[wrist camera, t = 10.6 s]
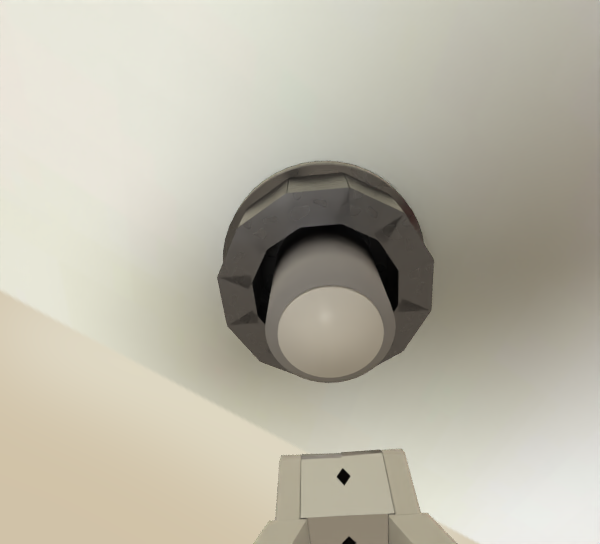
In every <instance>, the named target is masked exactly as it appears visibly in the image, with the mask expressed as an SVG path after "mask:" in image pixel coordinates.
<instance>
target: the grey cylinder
mask: <svg viewBox="0 0 600 544" xmlns="http://www.w3.org/2000/svg"><path fill="white" fill-rule="evenodd" d="M395 329H396V324H395V317H394V312H393V310H392V307H391V304H390V302H389V299H388V297H387V294H386V291H385V289H384V286H383V283H382V281H381V278H380V276H379V273H378V270H377V268H376V265H375V263H374V260H373V257H372V255H371V252H370V250H369V247H368V245H367V243H366V242H365V240H364V239H363V238H362V236H361V235H360V234H359V233H358V232H357V231H355V230H354V229H352V228H350V227H347V226H345V225H343V224H334V225H323V226H311V227H300V228H298V229H297V230H295V231H294V232H292V233H291V234H290V235H288V236H287V237H286V239H285V240H284V241H283V243H282V244H281V246H280V248H279V250H278V253H277V257H276V263H275V269H274V275H273V281H272V287H271V293H270V299H269V305H268V311H267V317H266V324H265V334H266V340H267V344H268V346H269V348H270V351H271V352H272V354H273V356H274V357H275V358H276V360H277V361H278V362H279V363H280V364H281V365H282V366H283V367H284V368H286V369H287V370H288V371H290V372H292V373H293V374H295V375H297V376H299V377H302V378H304V379H308V380H311V381H316V382H325V383H329V382H342V381H346V380H350V379H353V378H356V377H359V376H361V375H363V374H365V373H367V372H368V371H370V370H371V369H373V368H374V367H375V366H377V365H378V364H379V363H380V362H381V361H382V360H383V358H384V357H385V356H386V354H387V353H388V351H389V350H390V348H391V345H392V343H393V340H394V336H395Z"/></svg>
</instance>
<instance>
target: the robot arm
mask: <svg viewBox="0 0 600 544" xmlns="http://www.w3.org/2000/svg"><path fill="white" fill-rule="evenodd" d="M253 544H457V543H456V542H455V541H454V540H453V539H452V538H451V536H450V535H449V534H448V533H447V532H446V531H444V529H443V528H442V527H441V526H440V525H439V524H438V523H437V522H436V521H435V520H434V519H433V518H432V517H431V516H430V515H429V514H428V513H421V511H420V507H419V504H418V500H417V496H416V493H415V489H414V485H413V482H412V478H411V474H410V471H409V467H408V463H407V460H406V456H405V452H404V451H403V450H402V449H390V450H382V451H381V450H369V451H355V452H341V453H334V454H302V455H283V456H281V458H280V461H279V474H278V488H277V503H276V517H275V520H274V521H269V522H268V523H267V525H266V526H265V528H264V529H263V530H262V532H261V533H260V535H259V536H258V538H257V539H256V541H255V542H254V543H253Z"/></svg>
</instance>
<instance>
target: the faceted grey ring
mask: <svg viewBox="0 0 600 544" xmlns="http://www.w3.org/2000/svg"><path fill="white" fill-rule="evenodd" d="M334 224H343V225H345V226H347V227H350V228H352V229H354V230H355V231H357V232H358V233H359V234H360V235H361V236H362V238H363V239H364V240H365V242H366V243H367V245H368V247H369V250H370V252H371V255H372V257H373V260H374V263H375V265H376V268H377V270H378V273H379V276H380V278H381V281H382V283H383V286H384V289H385V291H386V294H387V297H388V299H389V302H390V304H391V307H392V310H393V312H394V317H395V324H396V329H395V336H394V340H393V343H392V345H391V348H390V350H389V351H388V353H387V354H386V356H385V357H384V358H383V360H382V361H381V362H380V363H382V362H384V361H386V360H388V359H390V358H392V357H394V356H395V355H397V354H399V353H401V352H402V351H403V350H404V349H405V348H406V346H407V345H408V343H409V342H410V340H411V339H412V337H413V336H414V335H415V333H416V332H417V330H418V329H419V327H420V326H421V324H422V323H423V322H424V320H425V319H426V317H427V316H428V314H429V313H430V311H431V306H432V285H433V264H434V260H433V258H432V256H431V254H430V253H429V251H428V250H427V248H426V246H425V245H424V242H423V236H422V232H421V229H420V226H419V224H418V221H417V219H416V217H415V215H414V213H413V211H412V210H411V208H410V207H409V206H408V204H407V203H406V201H405V200H404V199H403V198H402V196H401V195H400V194H399V193H398V192H397V191H396V190H395V189H394V188H393V187H392V186H391V185H390V184H389V183H387V182H386V181H385V180H383V179H382V178H381V177H379V176H377V175H376V174H374V173H372V172H370V171H368V170H366V169H363V168H361V167H358V166H356V165H352V164H347V163H343V162H335V161H314V162H308V163H301V164H298V165H295V166H291V167H288V168H286V169H284V170H281V171H279V172H277V173H275V174H273V175H272V176H270V177H269V178H267V179H266V180H264V181H263V182H262V183H260V184H259V185H258V186H257V187H256V188H254V189H253V191H252V192H251V193H250V194H249V195H248V196H247V197H246V198H245V200H244V201H243V203H242V204H241V206H240V207H239V209H238V210H237V212H236V214H235V216H234V218H233V220H232V222H231V224H230V226H229V229H228V232H227V235H226V238H225V244H224V250H223V265H222V267H221V269H220V272H219V274H218V277H217V278H218V283H219V288H220V293H221V298H222V303H223V308H224V313H225V318H226V323H227V325H228V327H229V328H230V329H231V330H232V331H233V333H234V334H235V335H236V336H237V337H238V338H239V339H240V340H241V341H242V342H243V343H244V344H245V346H246V347H247V348H248V349H249V350H250V351H251V352H252V353H253V354H254V355H255V356H256V357H257V359H258V360H259V361H261V362H263V363H265V364H268V365H271V366H273V367H276V368H279V369H282V370H284V371H287V372H290V371H288V370H287V369H286V368H284V367H283V366H282V365H281V364H280V363H279V362H278V361H277V360H276V358H275V357H274V356H273V354H272V352H271V351H270V348H269V346H268V344H267V340H266V334H265V324H266V317H267V311H268V305H269V299H270V293H271V287H272V281H273V275H274V269H275V263H276V257H277V253H278V250H279V248H280V246H281V244H282V243H283V241H284V240H285V239H286V237H287V236H288V235H290V234H291V233H292V232H294V231H295V230H297V229H298V228H300V227H311V226H323V225H334ZM380 363H379V364H380ZM379 364H378V365H379ZM290 373H292V372H290ZM292 374H293V373H292Z"/></svg>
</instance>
